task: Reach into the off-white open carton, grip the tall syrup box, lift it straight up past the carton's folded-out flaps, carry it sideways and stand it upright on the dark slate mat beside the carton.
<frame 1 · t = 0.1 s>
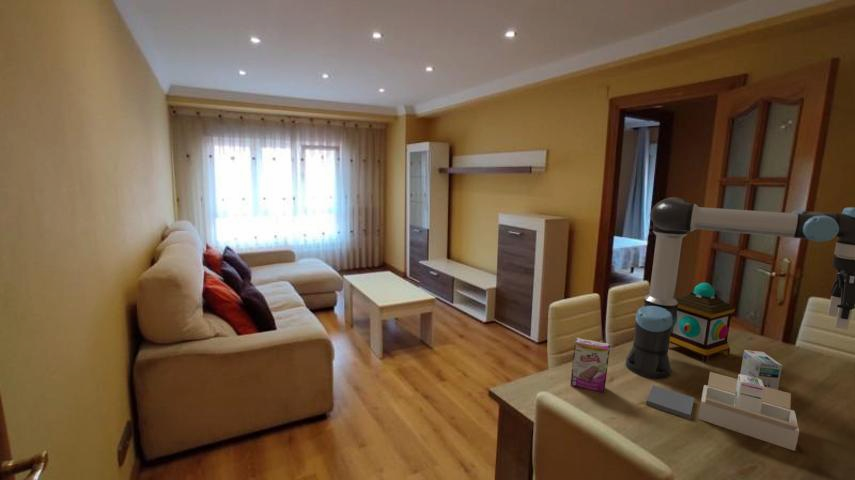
hand: (837, 321, 127), 28 cm above the table, tool pointing down, fingers open, 13 cm apart
syrup box: (743, 424, 119), resting in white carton
candy bar box: (587, 387, 138), on the table
slate mat: (669, 403, 129), on the table
light bulb box: (757, 385, 142), on the table
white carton: (743, 423, 119), on the table
decorative lantern: (695, 351, 168), on the table
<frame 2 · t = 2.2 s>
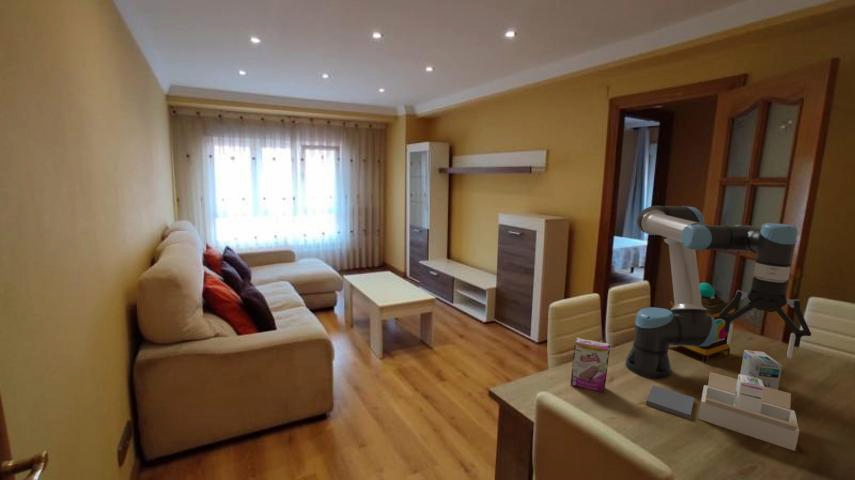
hand: (757, 349, 115), 24 cm above the table, tool pointing down, fingers open, 13 cm apart
nothing on the table moved.
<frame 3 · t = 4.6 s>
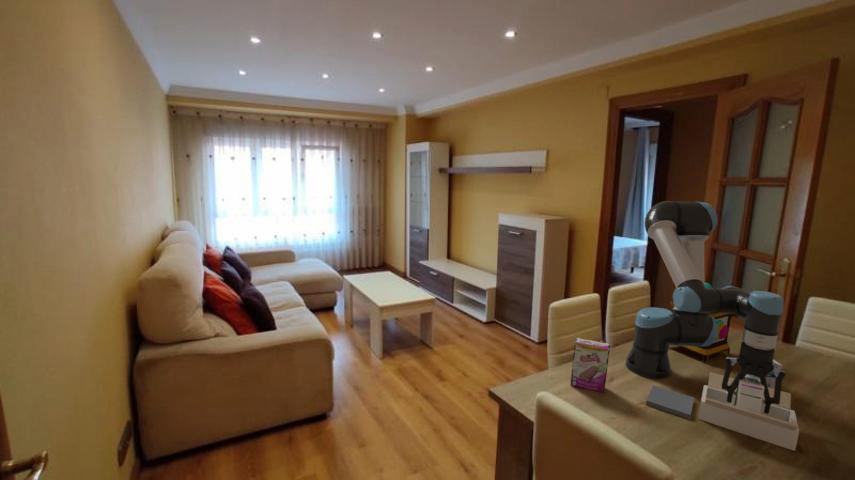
hand: (745, 416, 119), 2 cm above the table, tool pointing down, fingers closed on syrup box, 6 cm apart
syrup box: (743, 424, 119), resting in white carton, touching gripper
everything else where it was.
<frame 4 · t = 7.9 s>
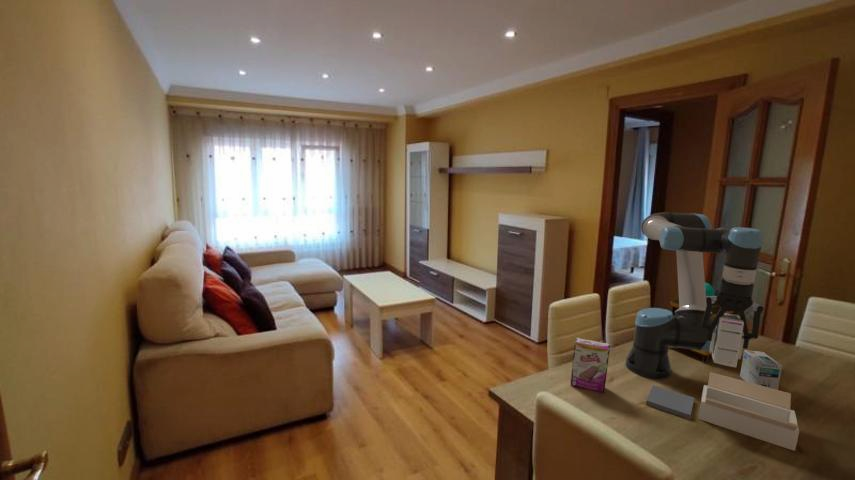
hand: (724, 353, 120), 20 cm above the table, tool pointing down, fingers closed on syrup box, 6 cm apart
syrup box: (723, 361, 120), point 18 cm above the table, touching gripper
everything else where it was.
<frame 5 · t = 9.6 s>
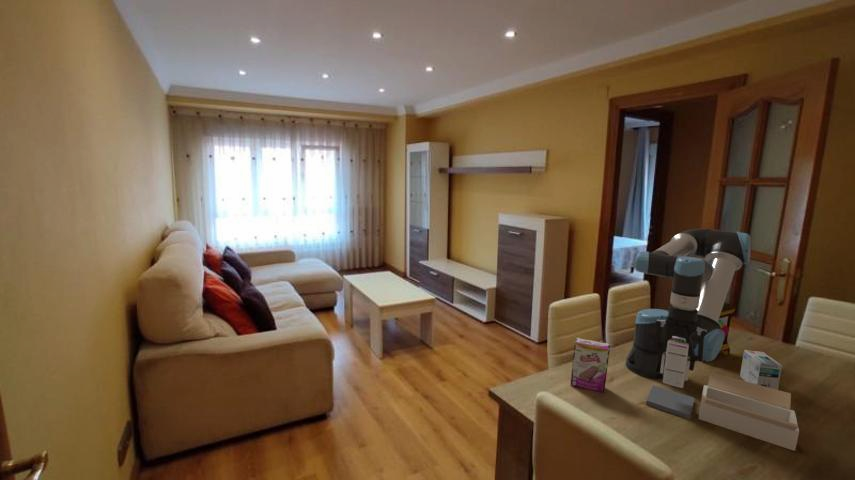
hand: (673, 374, 127), 10 cm above the table, tool pointing down, fingers closed on syrup box, 6 cm apart
syrup box: (672, 382, 128), point 7 cm above the table, touching gripper
everything else where it was.
when the fingers open (5 cm above the table, at t = 10.9 s): syrup box drops 1 cm, resting on slate mat.
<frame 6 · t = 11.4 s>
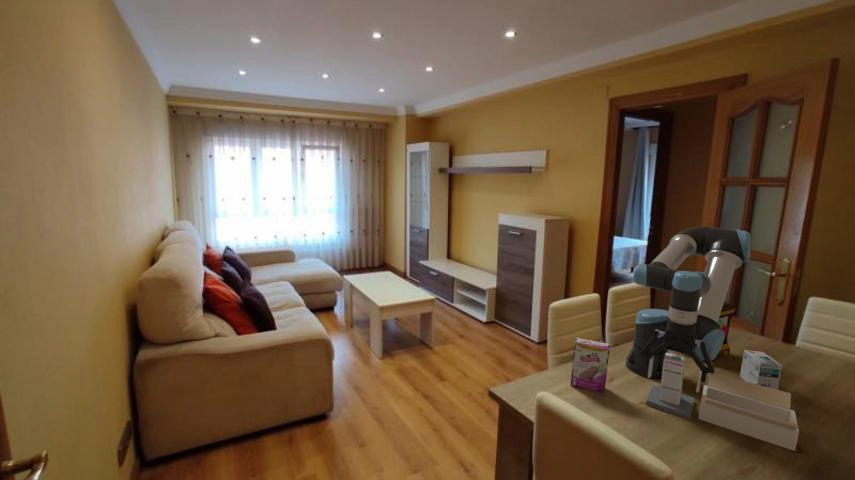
hand: (672, 383, 128), 7 cm above the table, tool pointing down, fingers open, 13 cm apart
syrup box: (669, 399, 129), point 1 cm above the table, touching slate mat
everything else where it was.
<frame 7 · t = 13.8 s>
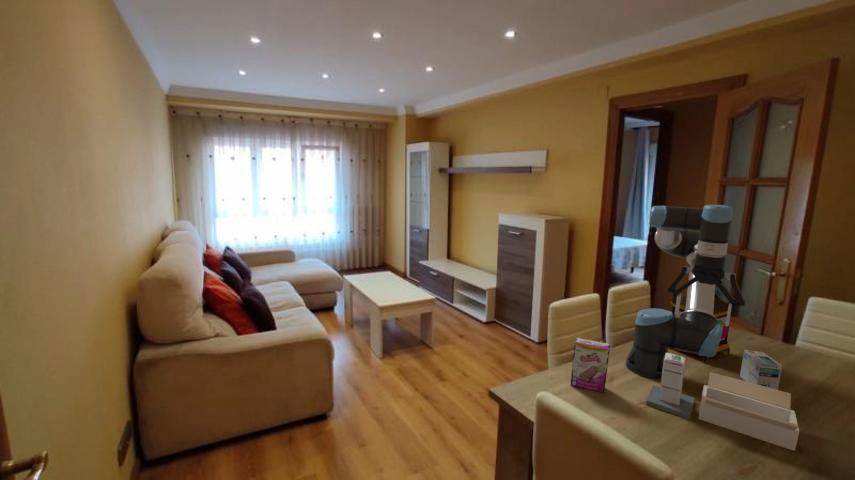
hand: (701, 319, 127), 28 cm above the table, tool pointing down, fingers open, 13 cm apart
nothing on the table moved.
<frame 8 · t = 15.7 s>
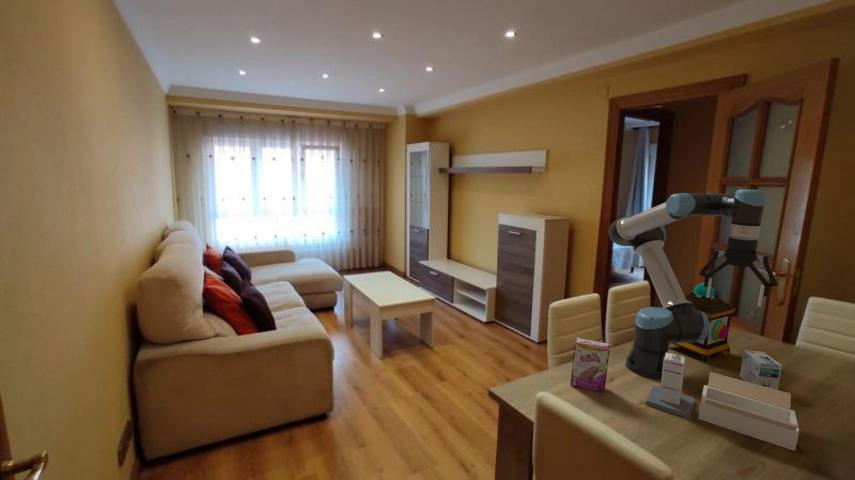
hand: (732, 301, 131), 33 cm above the table, tool pointing down, fingers open, 13 cm apart
nothing on the table moved.
at the end: syrup box inside the target area on the slate mat (0.3 cm from its centre), point 1.3 cm above the slate mat's base; syrup box tilted 0°; syrup box touching slate mat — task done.
